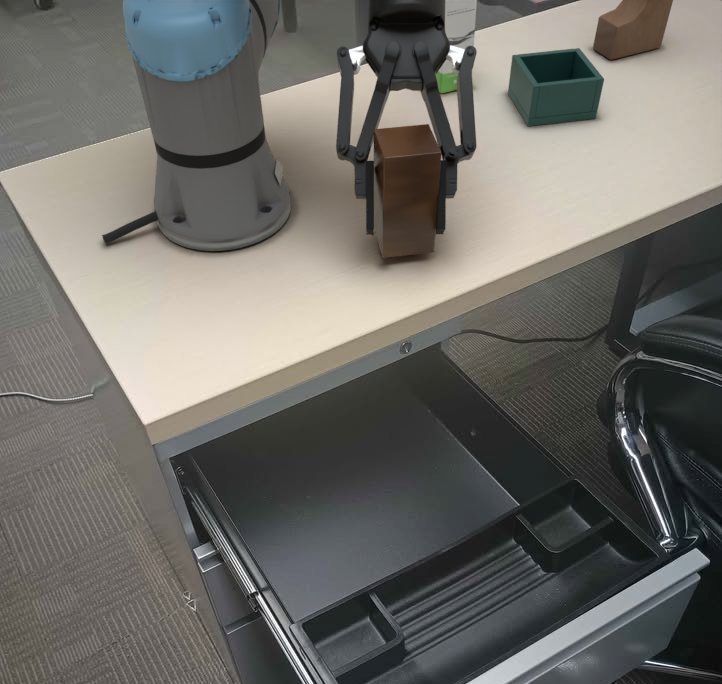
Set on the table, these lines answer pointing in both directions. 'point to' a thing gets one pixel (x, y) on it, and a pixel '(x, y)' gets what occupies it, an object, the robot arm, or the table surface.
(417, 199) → the post
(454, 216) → the table surface
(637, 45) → the wooden block
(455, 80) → the ink box
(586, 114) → the open box
